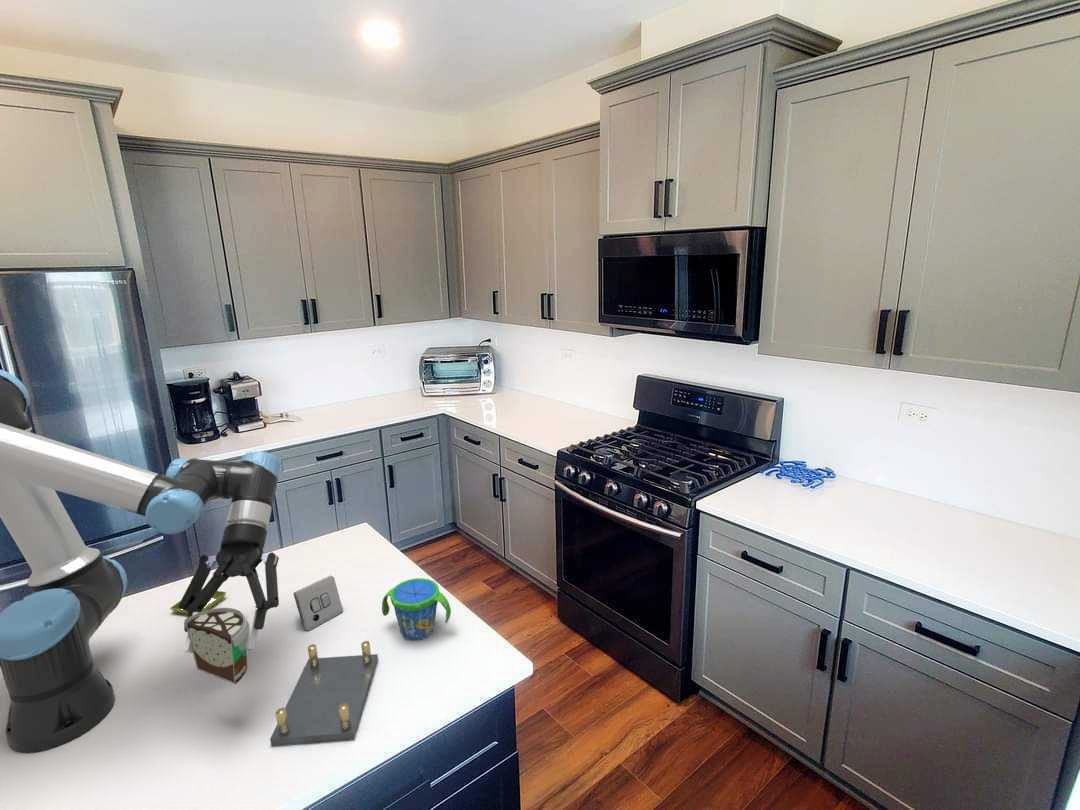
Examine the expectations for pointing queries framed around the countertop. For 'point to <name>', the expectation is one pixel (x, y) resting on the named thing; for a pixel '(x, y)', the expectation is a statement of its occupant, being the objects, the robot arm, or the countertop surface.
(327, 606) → the electrical switch
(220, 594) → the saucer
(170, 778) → the countertop surface
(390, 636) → the countertop surface
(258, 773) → the countertop surface
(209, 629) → the food container
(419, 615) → the snack cup
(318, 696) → the post plate
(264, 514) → the robot arm
